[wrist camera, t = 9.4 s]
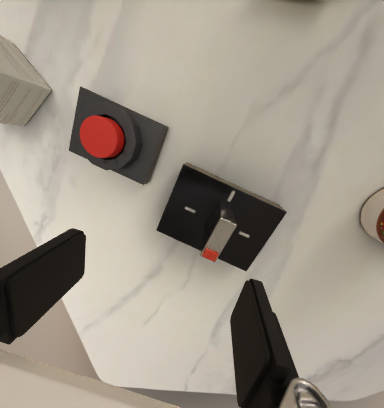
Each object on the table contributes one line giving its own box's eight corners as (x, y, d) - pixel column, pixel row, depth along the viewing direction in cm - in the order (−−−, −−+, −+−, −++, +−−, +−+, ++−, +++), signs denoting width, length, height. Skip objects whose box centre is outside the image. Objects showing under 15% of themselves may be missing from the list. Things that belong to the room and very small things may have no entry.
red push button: (129, 127, 20) (121, 125, 19) (119, 163, 22) (111, 164, 20) (94, 111, 20) (83, 108, 19) (86, 148, 22) (76, 148, 20)
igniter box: (168, 127, 23) (159, 123, 19) (149, 181, 26) (137, 187, 22) (92, 91, 23) (67, 80, 19) (80, 150, 26) (57, 150, 22)
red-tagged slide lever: (219, 202, 22) (220, 218, 17) (232, 208, 22) (237, 226, 17) (203, 234, 24) (199, 257, 19) (215, 239, 24) (214, 263, 19)
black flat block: (278, 204, 24) (287, 212, 21) (243, 258, 28) (246, 272, 25) (187, 162, 24) (183, 164, 21) (162, 221, 28) (155, 230, 25)
